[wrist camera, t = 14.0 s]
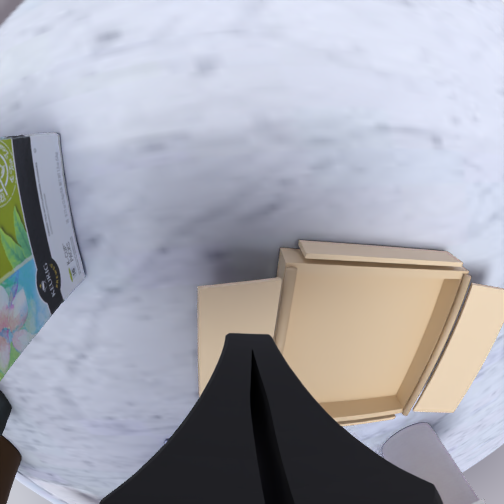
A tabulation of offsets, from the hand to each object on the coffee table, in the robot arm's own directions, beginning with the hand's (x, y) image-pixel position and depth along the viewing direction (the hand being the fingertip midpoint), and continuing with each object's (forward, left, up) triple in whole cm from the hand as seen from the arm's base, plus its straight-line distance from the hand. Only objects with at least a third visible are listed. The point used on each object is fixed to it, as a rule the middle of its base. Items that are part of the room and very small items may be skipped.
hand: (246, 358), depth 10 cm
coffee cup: (-23, -21, -10) cm, 33 cm away
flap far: (-7, -15, -7) cm, 18 cm away
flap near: (-7, -3, -7) cm, 11 cm away
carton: (-7, -9, -10) cm, 15 cm away
